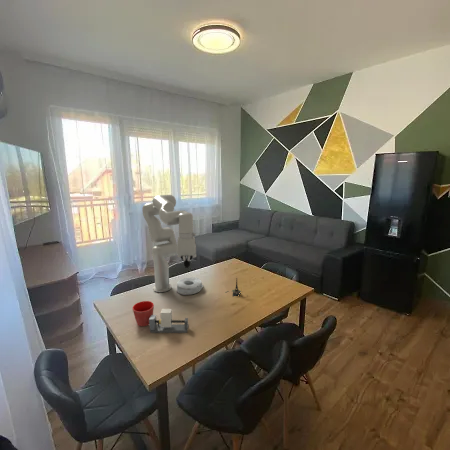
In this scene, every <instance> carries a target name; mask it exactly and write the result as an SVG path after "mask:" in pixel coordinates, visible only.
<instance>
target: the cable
mask: <svg viewBox="0 0 450 450" xmlns="http://www.w3.org/2000/svg"><path fill="white" fill-rule="evenodd" d="M203 288H204V284H203V283H202V280H201V279H200V278H199V277H196V276H195V277H193V276H191V277H184V278H182V279H179V280H178V281H177V282H176V292H177V293H178V294H179V295H184V296H188V295H189V296H191V295H194V294H197V293H199V292H200V291H201V290H202V289H203Z"/></svg>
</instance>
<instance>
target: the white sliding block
mask: <svg viewBox="0 0 450 450" xmlns="http://www.w3.org/2000/svg"><path fill="white" fill-rule="evenodd" d="M159 315H160V319H161V327H171V325H172V324H173V323H171V320H173V309H172V308H161V311H160V314H159Z"/></svg>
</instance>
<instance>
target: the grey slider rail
mask: <svg viewBox="0 0 450 450" xmlns="http://www.w3.org/2000/svg"><path fill="white" fill-rule="evenodd" d="M171 323H172V325H171V327H161V318H159V320H157V315H156V314H153V315H151V317H150V319H149V325H148V326H149V332H150V333H151V334H187V333H188V330H189V325H190V324H189V318H188V317H185V318H184V320H181V319H178V320H176V319H175V320H174V319H172V320H171Z"/></svg>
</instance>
